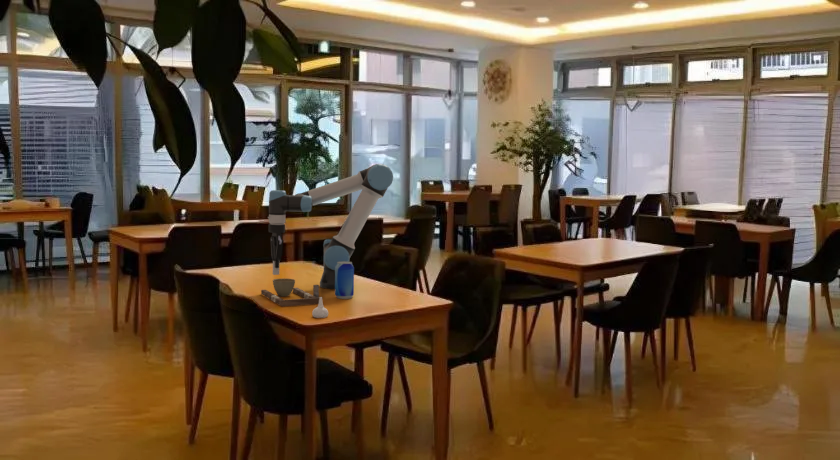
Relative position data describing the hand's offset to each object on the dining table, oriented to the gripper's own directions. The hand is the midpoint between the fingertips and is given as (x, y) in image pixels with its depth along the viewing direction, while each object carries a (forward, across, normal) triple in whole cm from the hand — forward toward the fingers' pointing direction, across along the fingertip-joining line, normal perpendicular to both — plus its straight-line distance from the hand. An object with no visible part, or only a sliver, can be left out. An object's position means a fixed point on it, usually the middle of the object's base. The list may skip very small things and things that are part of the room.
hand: (275, 274), depth 364 cm
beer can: (+8, +26, +24) cm, 36 cm away
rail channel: (+8, +20, +2) cm, 22 cm away
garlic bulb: (+8, +61, 0) cm, 61 cm away
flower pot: (+8, +11, 0) cm, 14 cm away
